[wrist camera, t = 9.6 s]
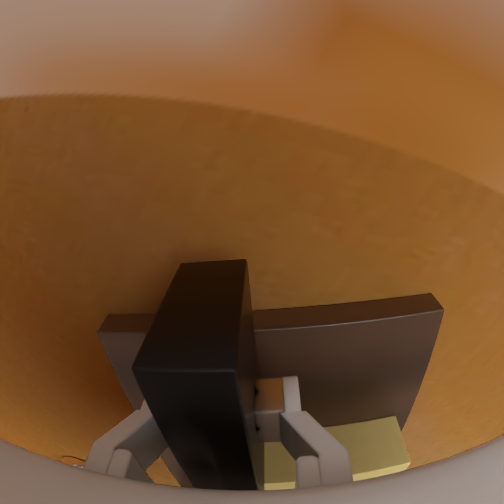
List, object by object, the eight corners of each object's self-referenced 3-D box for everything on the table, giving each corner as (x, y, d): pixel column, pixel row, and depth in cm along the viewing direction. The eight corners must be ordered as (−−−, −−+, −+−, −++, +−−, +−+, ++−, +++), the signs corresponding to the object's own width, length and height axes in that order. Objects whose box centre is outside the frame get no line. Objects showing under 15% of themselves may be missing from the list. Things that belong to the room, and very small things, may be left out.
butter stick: (258, 431, 16) (258, 483, 13) (395, 415, 15) (411, 462, 12) (264, 468, 18) (263, 511, 15) (378, 454, 17) (388, 495, 14)
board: (107, 314, 15) (96, 331, 13) (431, 292, 14) (444, 309, 12) (186, 477, 22) (184, 491, 20) (373, 467, 21) (376, 481, 19)
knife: (180, 262, 10) (128, 368, 6) (246, 258, 10) (236, 370, 6) (241, 495, 18) (239, 552, 13) (272, 495, 18) (272, 552, 13)
